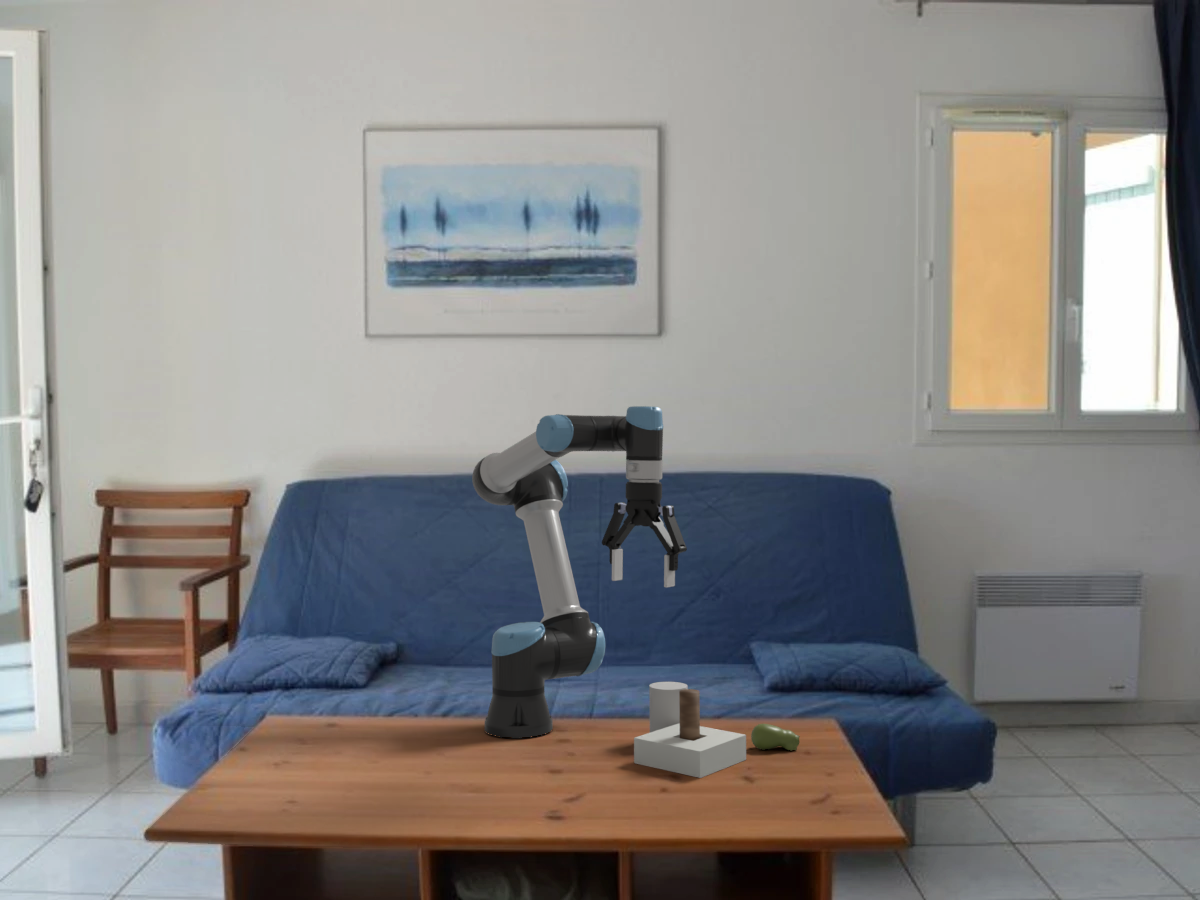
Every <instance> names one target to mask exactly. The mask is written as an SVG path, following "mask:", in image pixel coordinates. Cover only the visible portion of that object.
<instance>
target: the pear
mask: <svg viewBox="0 0 1200 900" xmlns="http://www.w3.org/2000/svg"><path fill="white" fill-rule="evenodd" d="M750 735H751V737H750V738H751V742H752V745H753V746H754V747H755V748H757V749H759V750H761V749H762V750H761V751H766V750H765V749H768V750H771V749H774V748H778V747H781V748H783V749H785V750H788V751H789V750H790V751H791V752H793V751H792V750H795V751H796V750H797V749H798V747H799V745H800V737H801V736H800V735H798V734H796V733H795V732H794V731H792V730H790V729H783V728H781V727H779V726H776V725H773V724H769V723H758V724H757V725H755V726H754V727H753V729H752V731H751V734H750Z"/></svg>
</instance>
